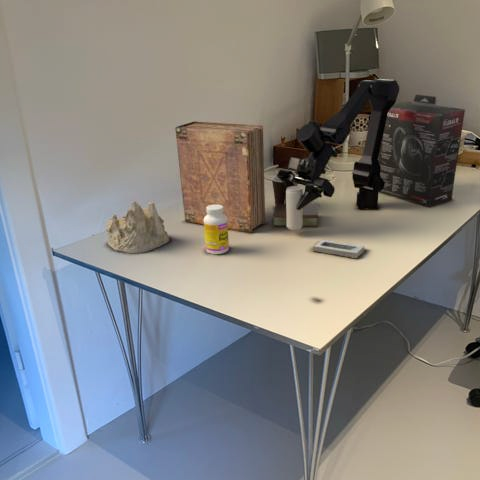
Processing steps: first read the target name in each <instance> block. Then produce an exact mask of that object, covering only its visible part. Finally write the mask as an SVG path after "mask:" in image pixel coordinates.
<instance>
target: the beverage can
mask: <svg viewBox="0 0 480 480" xmlns="http://www.w3.org/2000/svg"><path fill="white" fill-rule="evenodd" d="M286 189H287V190H286V217H287V227H286V228H287V229H288V230H290V231H298V230H301V229H302V228H303V227H302V226H303V208H302V209H300V210H297V209H296V207H297V205H298V203H299V201H300V199H301V197H302V195H303V194H304V191H303V187H302V186H299V185H298V186H290V187H287V188H286Z"/></svg>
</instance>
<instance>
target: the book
mask: <svg viewBox="0 0 480 480" xmlns="http://www.w3.org/2000/svg"><path fill="white" fill-rule="evenodd" d="M174 130H175V135H176V136H175V138H176V139H175V140H176V147H177V157H178V166H179V176H180V177H179V178H180V186H181V195H182V203H183V204H182V205H183V213H184V215H183V216H184V221H185V222H186V223H190V224H196V225H203V226H204V217H205V216H206V215H207V212H206V207H207V206H209V205H215V204H217V205H222V206H223V214H224V215H226V217H227V221H228V230H232V231H237V232H243V233H248V234H252V233H253V230H254V229H256V228H257V227H258V226H260V225H265V224H266V198H265V197H266V196H265V195H266V194H265V193H266V191H265V190H266V189H265V158H264V157H265V154H264V153H265V152H264V151H265V150H264V149H265V148H264V146H265V145H264V126H263V125H261V124H244V123H227V122H209V121H191V122H187V123H184V124H181V125H178V126H176V127H175V128H174Z"/></svg>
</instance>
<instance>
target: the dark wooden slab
mask: <svg viewBox="0 0 480 480" xmlns="http://www.w3.org/2000/svg"><path fill="white" fill-rule="evenodd" d="M319 213H320V203H309V204H307V205H306V206H304V207H303V226H302V228H317V227H318V226H319V225H318V224H319ZM272 217H273V226H274V227H277V228H280V227H281V228H283V227H284V228H285V227H286V228H287V217H286V206H284V204H276V206H274V209H273V212H272Z"/></svg>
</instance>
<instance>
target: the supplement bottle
mask: <svg viewBox="0 0 480 480" xmlns="http://www.w3.org/2000/svg"><path fill="white" fill-rule="evenodd" d="M206 212H207V215H206V216H205V217H204V225H203V228H204V229H203V230H204V231H203V232H204V244H205V251H206V253H208V254H212V255H222V254H226V253H227V252H228V251H229V249H230V245H229V243H230V241H229V229H228V221H227V217H226V215H224V214H223V206H222V205H217V204H215V205H209V206H207V207H206Z"/></svg>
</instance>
